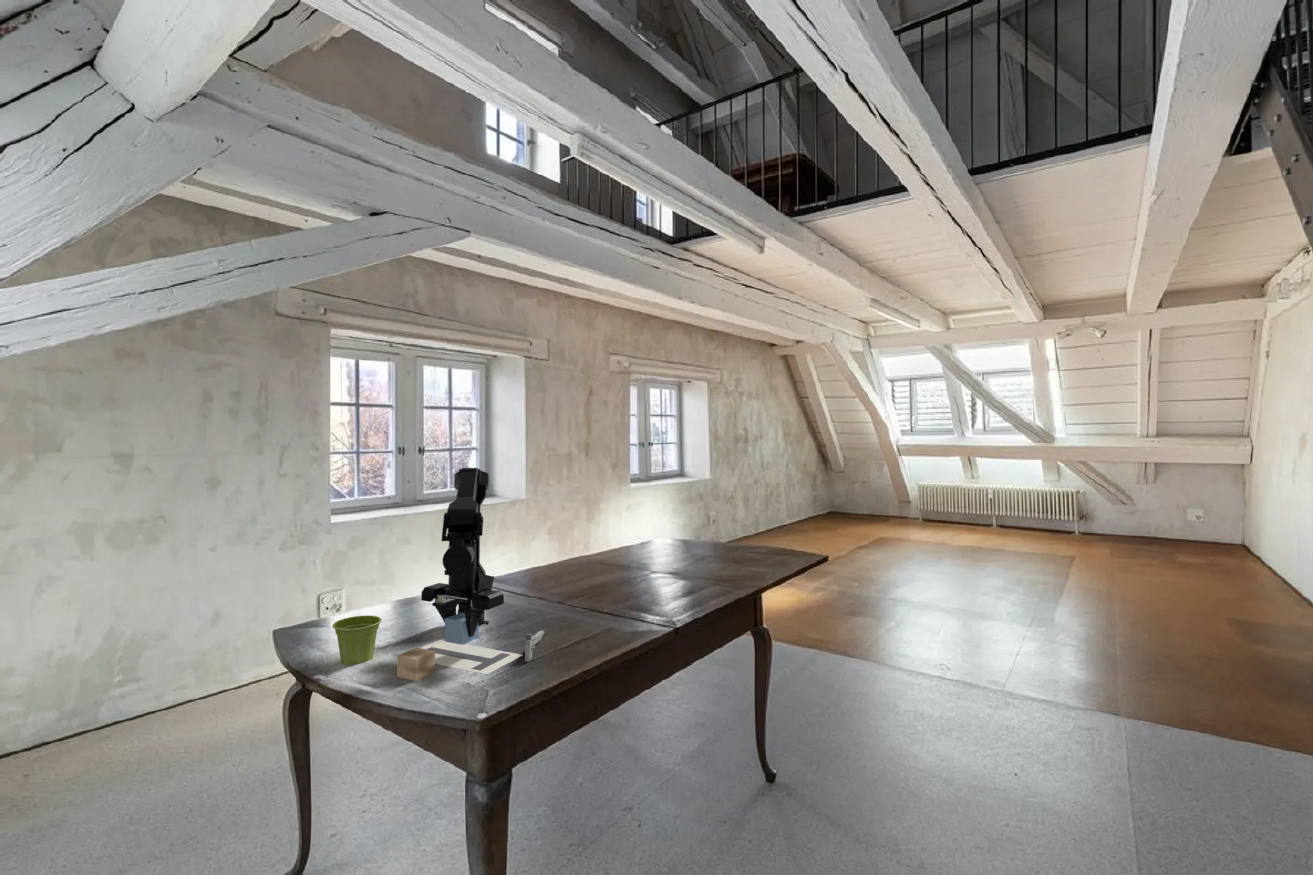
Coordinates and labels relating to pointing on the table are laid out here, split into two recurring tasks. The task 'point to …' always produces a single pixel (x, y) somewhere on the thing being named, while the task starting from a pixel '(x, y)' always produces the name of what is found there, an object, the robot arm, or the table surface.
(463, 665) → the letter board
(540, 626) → the table surface
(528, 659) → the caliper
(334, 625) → the plant pot
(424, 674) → the wood block
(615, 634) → the table surface
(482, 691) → the table surface
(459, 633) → the blue cube
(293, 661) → the table surface
